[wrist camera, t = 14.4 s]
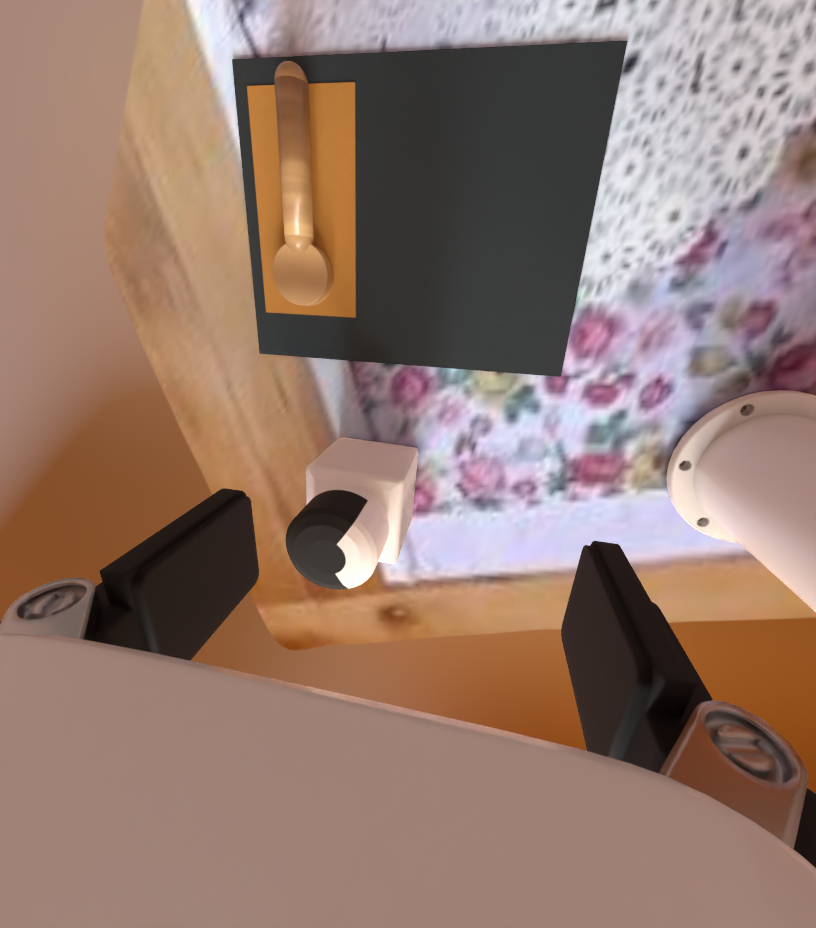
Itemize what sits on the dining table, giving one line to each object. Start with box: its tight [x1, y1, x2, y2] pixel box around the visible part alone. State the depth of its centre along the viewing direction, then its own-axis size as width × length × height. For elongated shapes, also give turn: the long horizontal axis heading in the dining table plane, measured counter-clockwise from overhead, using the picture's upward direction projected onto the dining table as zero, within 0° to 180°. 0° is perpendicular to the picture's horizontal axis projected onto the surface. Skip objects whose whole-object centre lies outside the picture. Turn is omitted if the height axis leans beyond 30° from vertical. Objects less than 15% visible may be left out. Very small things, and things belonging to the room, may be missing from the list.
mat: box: [232, 41, 627, 376], centre depth 29 cm, size 26×20×1 cm
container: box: [286, 437, 418, 589], centre depth 31 cm, size 8×8×13 cm
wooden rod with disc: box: [272, 61, 334, 306], centre depth 28 cm, size 15×5×2 cm, turn 177°
